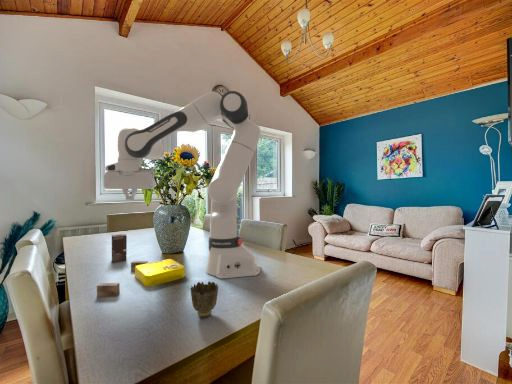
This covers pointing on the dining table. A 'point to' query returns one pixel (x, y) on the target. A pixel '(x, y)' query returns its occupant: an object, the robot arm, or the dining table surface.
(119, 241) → the box
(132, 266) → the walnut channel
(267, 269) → the dining table surface
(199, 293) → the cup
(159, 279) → the element tile
